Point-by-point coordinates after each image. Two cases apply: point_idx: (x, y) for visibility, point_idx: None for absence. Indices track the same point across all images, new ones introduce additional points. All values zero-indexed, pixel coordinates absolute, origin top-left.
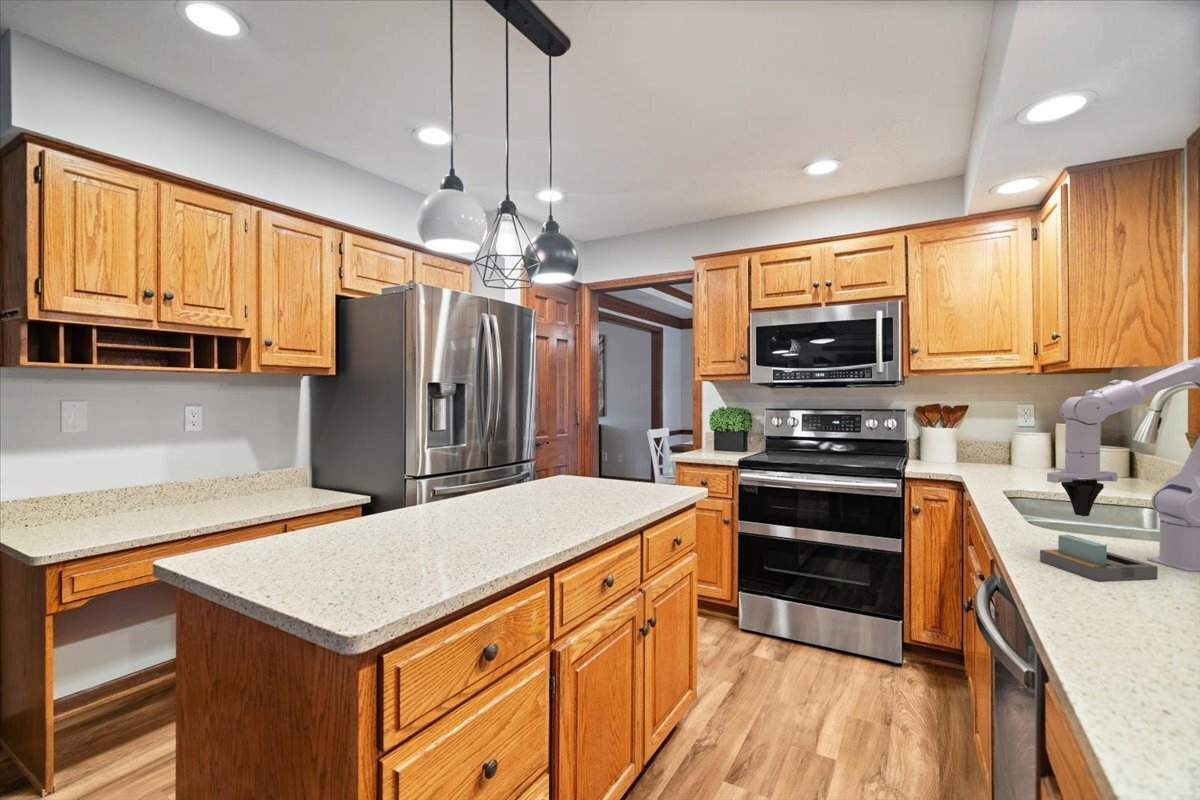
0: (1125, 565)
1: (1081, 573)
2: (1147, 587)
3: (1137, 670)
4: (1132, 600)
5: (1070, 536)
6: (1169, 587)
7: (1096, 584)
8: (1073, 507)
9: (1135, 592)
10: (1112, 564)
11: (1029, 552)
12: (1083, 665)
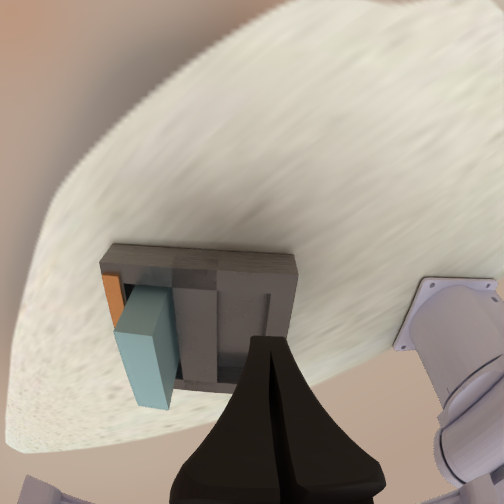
0: (210, 384)
1: None
2: None
3: (43, 438)
4: (131, 405)
5: (141, 348)
6: None
7: None
8: (247, 360)
9: None
10: (188, 376)
11: (161, 144)
12: (17, 425)
